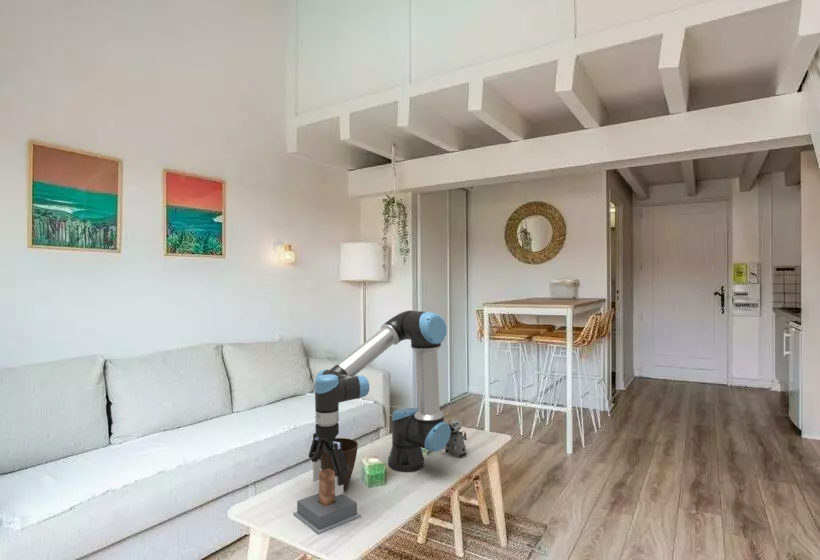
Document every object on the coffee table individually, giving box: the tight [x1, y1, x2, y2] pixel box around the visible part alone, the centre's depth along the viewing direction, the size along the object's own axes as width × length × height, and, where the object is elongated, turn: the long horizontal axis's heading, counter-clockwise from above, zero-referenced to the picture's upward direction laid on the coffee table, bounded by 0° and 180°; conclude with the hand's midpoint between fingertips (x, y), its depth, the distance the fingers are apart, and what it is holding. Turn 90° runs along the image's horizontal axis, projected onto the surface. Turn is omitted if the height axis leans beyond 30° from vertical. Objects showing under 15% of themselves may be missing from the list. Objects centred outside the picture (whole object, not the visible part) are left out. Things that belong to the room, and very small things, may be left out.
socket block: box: [292, 492, 362, 535], centre depth 157 cm, size 16×16×5 cm
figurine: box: [444, 419, 468, 459], centre depth 209 cm, size 9×12×15 cm
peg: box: [318, 468, 335, 506], centre depth 157 cm, size 4×4×14 cm
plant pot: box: [318, 437, 359, 492], centre depth 177 cm, size 15×15×16 cm
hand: (327, 487), depth 157 cm, fingers open, 13 cm apart
